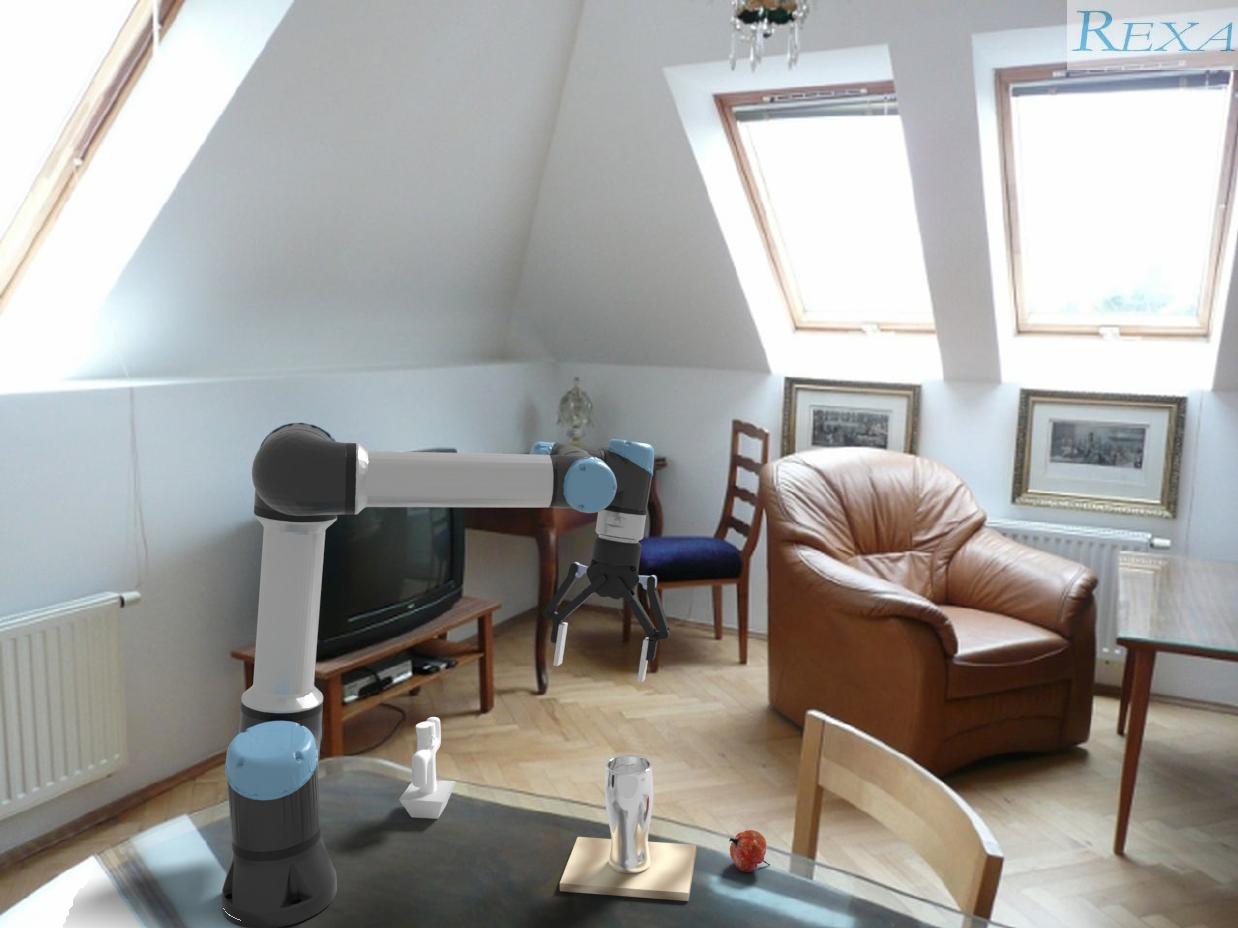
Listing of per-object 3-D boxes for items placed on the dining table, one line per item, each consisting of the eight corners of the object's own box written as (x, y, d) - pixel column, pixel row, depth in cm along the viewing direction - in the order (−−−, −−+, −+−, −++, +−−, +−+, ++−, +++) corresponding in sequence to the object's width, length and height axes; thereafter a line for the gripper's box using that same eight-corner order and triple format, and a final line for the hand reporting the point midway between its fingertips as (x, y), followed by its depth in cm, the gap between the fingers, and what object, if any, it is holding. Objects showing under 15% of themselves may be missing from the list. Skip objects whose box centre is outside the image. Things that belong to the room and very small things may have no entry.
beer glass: (649, 877, 146) (648, 776, 144) (601, 873, 147) (599, 772, 145) (657, 852, 152) (656, 755, 150) (611, 848, 154) (609, 752, 152)
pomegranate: (756, 865, 154) (715, 838, 153) (780, 839, 153) (739, 811, 152) (760, 890, 149) (718, 862, 148) (785, 863, 147) (743, 835, 146)
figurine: (397, 824, 164) (393, 734, 162) (416, 796, 174) (413, 711, 171) (441, 826, 163) (438, 736, 161) (458, 799, 173) (455, 713, 170)
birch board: (559, 890, 145) (559, 882, 145) (577, 843, 158) (577, 836, 157) (688, 900, 142) (688, 892, 142) (696, 852, 155) (696, 844, 155)
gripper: (536, 527, 161) (516, 661, 162) (693, 553, 156) (673, 692, 157) (548, 525, 169) (530, 653, 169) (700, 549, 164) (680, 682, 164)
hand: (599, 672), depth 163 cm, fingers open, 13 cm apart
